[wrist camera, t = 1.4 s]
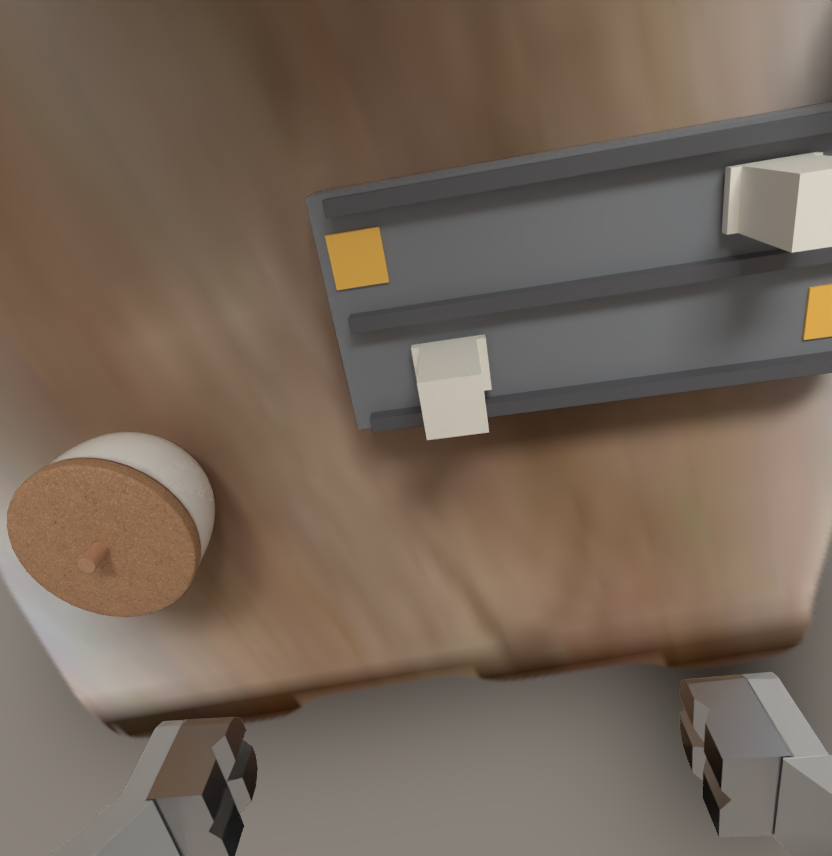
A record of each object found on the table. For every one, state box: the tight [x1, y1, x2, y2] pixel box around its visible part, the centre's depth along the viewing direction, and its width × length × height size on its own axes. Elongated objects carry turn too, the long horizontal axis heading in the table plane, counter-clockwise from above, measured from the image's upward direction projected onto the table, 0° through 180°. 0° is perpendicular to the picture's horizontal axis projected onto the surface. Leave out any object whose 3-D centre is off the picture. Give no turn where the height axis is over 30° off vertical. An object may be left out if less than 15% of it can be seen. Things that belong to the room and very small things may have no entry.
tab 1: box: [411, 334, 492, 440], centre depth 31 cm, size 3×4×6 cm
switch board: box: [305, 102, 832, 432], centre depth 32 cm, size 13×28×4 cm, turn 99°
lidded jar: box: [7, 432, 215, 617], centre depth 37 cm, size 11×11×9 cm
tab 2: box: [722, 152, 832, 253], centre depth 26 cm, size 3×4×6 cm
